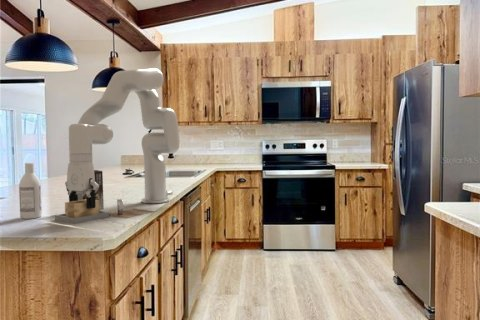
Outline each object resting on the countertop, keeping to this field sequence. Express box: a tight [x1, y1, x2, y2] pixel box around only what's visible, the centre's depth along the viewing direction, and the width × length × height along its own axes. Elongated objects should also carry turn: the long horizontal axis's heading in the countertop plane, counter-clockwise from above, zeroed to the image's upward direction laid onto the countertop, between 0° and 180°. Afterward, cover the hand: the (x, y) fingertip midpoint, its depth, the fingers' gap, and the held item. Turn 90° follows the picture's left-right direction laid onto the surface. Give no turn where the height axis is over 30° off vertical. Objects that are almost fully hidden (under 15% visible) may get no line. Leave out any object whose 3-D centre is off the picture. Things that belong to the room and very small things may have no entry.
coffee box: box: [76, 169, 105, 211], centre depth 152 cm, size 9×6×16 cm
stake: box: [116, 198, 124, 215], centre depth 142 cm, size 2×2×6 cm
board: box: [109, 208, 157, 219], centre depth 145 cm, size 15×12×1 cm
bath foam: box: [18, 162, 42, 220], centre depth 140 cm, size 7×7×20 cm
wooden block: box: [64, 199, 100, 218], centre depth 136 cm, size 9×6×6 cm
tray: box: [54, 210, 110, 224], centre depth 136 cm, size 14×12×2 cm
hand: (82, 207), depth 136 cm, fingers open, 9 cm apart
